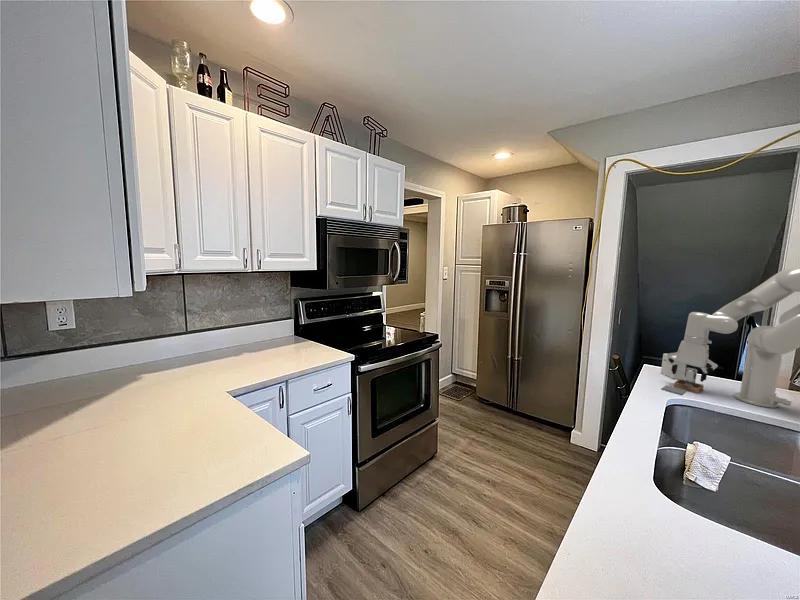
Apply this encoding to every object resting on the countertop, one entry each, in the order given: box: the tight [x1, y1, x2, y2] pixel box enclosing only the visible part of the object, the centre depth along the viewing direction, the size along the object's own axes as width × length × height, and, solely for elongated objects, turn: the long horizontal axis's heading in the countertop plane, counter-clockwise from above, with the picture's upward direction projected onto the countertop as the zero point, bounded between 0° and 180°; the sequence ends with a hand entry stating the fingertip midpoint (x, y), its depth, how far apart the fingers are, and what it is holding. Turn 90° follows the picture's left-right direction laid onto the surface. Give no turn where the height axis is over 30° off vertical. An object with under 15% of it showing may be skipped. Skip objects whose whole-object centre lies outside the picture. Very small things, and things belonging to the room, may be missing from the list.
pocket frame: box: [673, 379, 705, 395], centre depth 147 cm, size 8×8×2 cm
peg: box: [682, 367, 698, 387], centre depth 146 cm, size 4×4×9 cm
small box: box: [660, 353, 687, 380], centre depth 162 cm, size 8×6×10 cm
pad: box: [660, 384, 687, 396], centre depth 143 cm, size 7×7×1 cm
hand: (687, 377), depth 146 cm, fingers open, 9 cm apart
